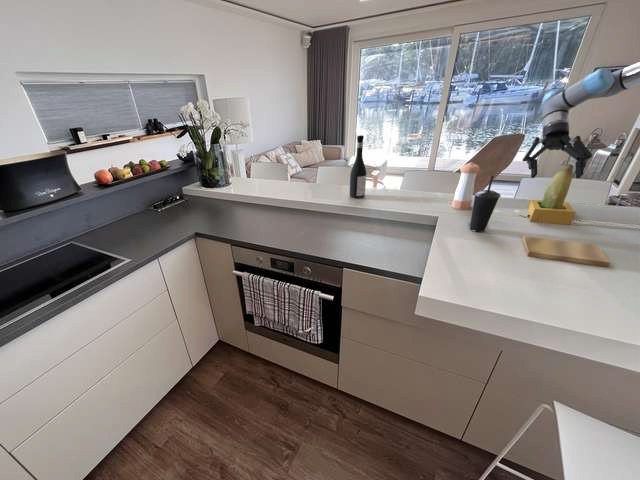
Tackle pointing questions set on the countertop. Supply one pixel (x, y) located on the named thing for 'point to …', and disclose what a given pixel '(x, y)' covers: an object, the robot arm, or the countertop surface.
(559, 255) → the board
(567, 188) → the vegetable
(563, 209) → the stand
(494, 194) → the drinking cup
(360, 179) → the wine bottle
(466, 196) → the pepper shaker
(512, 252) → the countertop surface
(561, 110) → the robot arm
